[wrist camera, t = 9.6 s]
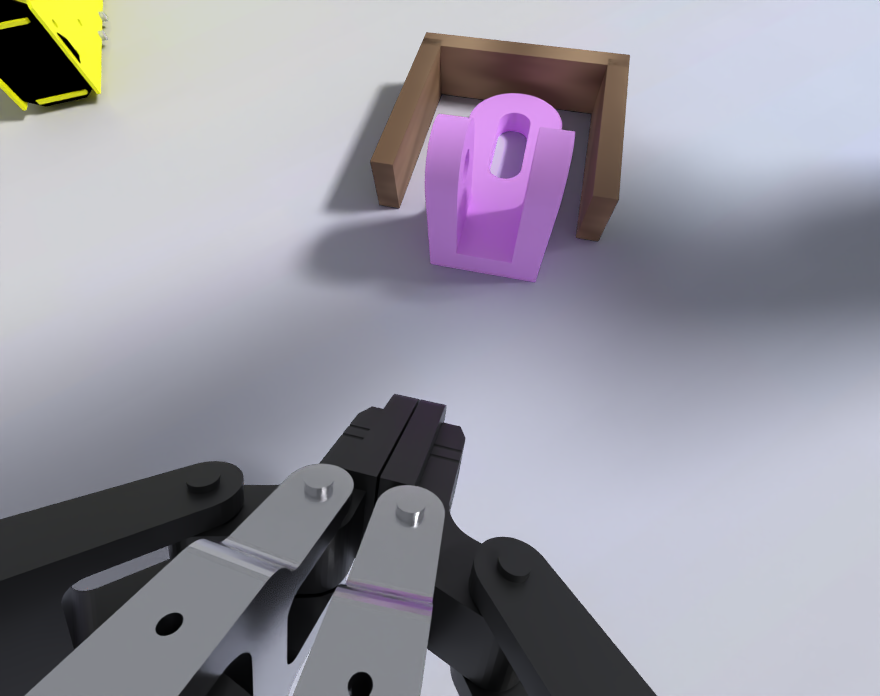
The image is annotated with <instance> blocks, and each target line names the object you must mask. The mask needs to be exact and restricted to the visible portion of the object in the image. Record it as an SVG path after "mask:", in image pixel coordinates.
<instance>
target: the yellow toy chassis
mask: <svg viewBox="0 0 880 696" xmlns="http://www.w3.org/2000/svg"><path fill="white" fill-rule="evenodd" d="M102 9H103V0H0V88H1V89H2V90H3V91H4V92H5V93H6V94H7V95H8V96H9V97H10V98H11V99H12V100H13V101H14V102H15V103H16V104H17V105H18V106H19V107H20V108H21V109H22V110H23V111H24V110H27V104H28V103H33V104H37V105H42V106H51V105H55V104H60V103H64V102H69V101H73V100H78V99H82V98H87V96H88V95H89V93H90V92H91V90H92V89H93V90H94V91H95V92H96V93H97V94H101V52H102V41H103V40H108V38H107V35H106V34H105V32H104V31H103V30H102V21H107V20H108V18H107V16H106V14H105V13H104V12H103V11H102Z"/></svg>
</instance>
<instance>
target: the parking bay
mask: <svg viewBox="0 0 880 696" xmlns="http://www.w3.org/2000/svg"><path fill="white" fill-rule="evenodd" d="M629 60H630V55H625V54H616V53H607V52H598V51H589V50H580V49H571V48H562V47H553V46H544V45H535V44H527V43H518V42H509V41H500V40H491V39H482V38H473V37H464V36H455V35H446V34H437V33H428V32H426V34H425V37H424V39H423V41H422V44H421V46H420V48H419V50H418V53H417V55H416V57H415V60H414V62H413V64H412V67H411V69H410V71H409V73H408V76H407V78H406V80H405V83H404V85H403V87H402V89H401V92H400V94H399V96H398V99H397V101H396V103H395V106H394V108H393V110H392V112H391V115H390V117H389V119H388V122H387V124H386V126H385V128H384V131H383V133H382V135H381V138H380V140H379V142H378V144H377V147H376V149H375V151H374V154H373V156H372V158H371V161H370V163H371V168H372V172H373V177H374V182H375V186H376V191H377V196H378V200H379V205H384V206H389V207H395V208H400V205H401V203H402V200H403V197H404V194H405V192H406V189H407V186H408V184H409V181H410V178H411V176H412V173H413V170H414V167H415V165H416V162H417V159H418V157H419V154H420V151H421V148H422V146H423V143H424V140H425V138H426V135H427V132H428V130H429V127H430V124H431V121H432V119H433V116H434V113H435V111H436V108H437V105H438V102H439V100H440V97H441V94H445V95H453V96H460V97H468V98H476V99H484V100H486V99H488V98H490V97H493V96H496V95H500V94H508V93H519V94H526V95H531V96H534V97H537V98H539V99H542V100H544V101H545V102H547V103H548V104H550V105H551V106H552V107H553V108H554V109H560V110H568V111H576V112H583V113H591V114H592V115H591V122H590V130H589V138H588V146H587V154H586V161H585V169H584V177H583V185H582V192H581V200H580V208H579V216H578V224H577V231H576V238H581V239H587V240H593V241H599V239H600V237H601V235H602V233H603V231H604V229H605V226H606V224H607V222H608V220H609V218H610V216H611V214H612V212H613V210H614V208H615V206H616V204H617V202H618V200H619V190H620V177H621V164H622V151H623V138H624V125H625V112H626V99H627V86H628V73H629Z"/></svg>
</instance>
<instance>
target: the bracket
mask: <svg viewBox="0 0 880 696" xmlns="http://www.w3.org/2000/svg"><path fill="white" fill-rule="evenodd" d="M508 131H516V132H519V133H521V134H523V135H524V136H525V137H526V139H527V144H526V149H525V154H524V159H523V164H522V168H521V171H520V173H519V174H518V175H517V176H515V177H512V178H508V179H503V178H499V177H496V176H494V175H493V174H492V173H491V172H490V167H491V163H492V159H493V155H494V151H495V147H496V143H497V139H498V137H499V136H500V135H501V134H502V133H504V132H508ZM574 141H575V132H574V131H567V130H562V121H561V118H560V116H559V114H558V112H557V111H556V110H555V109H554V108H553V107H552V106H551V105H550V104H548V103H547V102H545V101H544V100H542V99H539V98H537V97H534V96H531V95H526V94H519V93H508V94H500V95H496V96H493V97H490V98H488V99H486V100H484V101H482V102H481V103H479V104H478V105H477V106H476V107H475V108H474V109H473V111H472V112H471V114H470V117H469V118H467V117H460V116H452V115H445V114H438V115H437V117H436V119H435V121H434V124H433V127H432V131H431V135H430V139H429V144H428V151H427V158H426V168H425V197H426V210H427V223H428V236H429V250H430V263H431V264H434V265H440V266H445V267H451V268H457V269H462V270H468V271H474V272H479V273H485V274H491V275H496V276H502V277H508V278H513V279H519V280H525V281H530V282H535V281H536V278H537V275H538V272H539V269H540V266H541V263H542V260H543V257H544V254H545V250H546V247H547V244H548V241H549V238H550V235H551V232H552V229H553V226H554V223H555V220H556V217H557V214H558V210H559V207H560V204H561V200H562V197H563V193H564V189H565V185H566V181H567V177H568V172H569V168H570V163H571V158H572V153H573V148H574Z"/></svg>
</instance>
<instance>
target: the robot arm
mask: <svg viewBox="0 0 880 696" xmlns="http://www.w3.org/2000/svg"><path fill="white" fill-rule="evenodd" d="M445 414H446V405H443V404H439V403H434V402H430V401H425V400H419V399H416V398H411V397H407V396H402V395H398V394H394V395H393V396H392V397H391V399H390V400H389V402H388V403H387V405H386V406H385V408H384V409H381V408H376V407H370V408H368V409H367V410H365V411H363V412H361V413H359V414H358V415H357V416H356V417H355V419H354V420H353V421H352V422H351V424H350V426H348V428H347V429H346V430H345V431H344V433H343V435H341V436H340V438H339V439H338V440H337V442H336V443H335V444H334V445H333V447H332V448H331V449H330V451H329V452H328V453H327V454H326V456H325V457H324V458H323V459H322V461H321V462H320V463H319V464H313V465H308V466H305V467H302V468H300V469H298V470H296V471H295V472H293V473H292V474H291V475H290V476H289V477H288V478H287V479H286V480H285V481H284V482H283V483H282V484H281V485H244V481H243V474H242V471H241V470H240V469H239V468H238V467H237V466H235V465H233V464H230V463H227V462H219V461H211V462H203V463H198V464H194V465H191V466H187V467H184V468H180V469H177V470H173V471H170V472H166V473H162V474H159V475H155V476H152V477H148V478H145V479H141V480H138V481H134V482H131V483H127V484H124V485H120V486H117V487H113V488H110V489H106V490H103V491H99V492H96V493H92V494H88V495H85V496H81V497H78V498H74V499H71V500H67V501H64V502H60V503H57V504H53V505H50V506H46V507H43V508H39V509H36V510H32V511H29V512H25V513H21V514H18V515H14V516H11V517H7V518H4V519H0V696H288V695H289V692H290V689H291V686H292V684H293V681H294V679H295V677H296V675H297V673H298V671H299V669H300V668H301V666H302V664H303V662H304V661H305V659H306V657H307V655H308V653H309V652H310V654H309V656H308V659H307V661H306V664H305V666H304V669H303V671H302V674H301V676H300V679H299V681H298V684H297V686H296V689H295V691H294V694H293V696H420V694H421V687H422V680H423V673H424V666H425V659H426V652H427V649H428V650H430V651H431V652H432V653H434V654H435V655H436V656H438V657H439V658H440V659H442V660H443V661H444V662H446V663H447V664H449V665H450V671H451V676H452V680H453V682H454V685H455V687H456V689H457V692H458V694H459V696H657V695H656V694H655V693H654V692H653V690H652V689H651V688H650V687H649V686H648V684H647V683H646V682H645V681H644V679H643V678H642V677H641V676H640V675H639V673H638V672H637V671H636V670H635V668H634V667H633V666H632V665H631V664H630V662H629V661H628V660H627V659H626V658H625V656H624V655H623V654H622V653H621V651H620V650H619V649H618V648H617V647H616V645H615V644H614V643H613V642H612V640H611V639H610V638H609V637H608V636H607V634H606V633H605V632H604V631H603V629H602V628H601V627H600V626H599V625H598V623H597V622H596V621H595V620H594V618H593V617H592V616H591V615H590V614H589V612H588V611H587V610H586V609H585V607H584V606H583V605H582V604H581V603H580V601H579V600H578V599H577V598H576V596H575V595H574V594H573V593H572V592H571V590H570V589H569V588H568V587H567V585H566V584H565V583H564V582H563V581H562V579H561V578H560V577H559V576H558V574H557V573H556V572H555V571H554V570H553V568H552V567H551V566H550V565H549V564H548V562H547V561H546V560H545V559H544V557H543V556H542V555H541V554H540V553H539V552H538V551H537V550H535V549H534V548H533V547H531V546H530V545H528V544H527V543H525V542H523V541H520V540H517V539H514V538H510V537H495V538H491V539H489V540H487V541H485V542H484V543H482V544H481V543H479V542H478V541H476V540H474V539H472V538H471V537H469V536H468V535H466V534H465V533H464V532H463V531H461V530H460V529H459V528H458V527H457V525H456V524H455V523H454V521H453V519H452V517H451V515H450V509H451V505H452V501H453V497H454V493H455V489H456V484H457V479H458V474H459V469H460V464H461V459H462V454H463V448H464V443H465V436H464V434H463V432H462V429H461V427H460V426H456V425H451V424H447V423H444V420H445ZM166 546H168V547H169V555H170V559H169V560H166V561H164V562H161V563H159V564H156V565H154V566H151V567H149V568H146V569H144V570H141V571H139V572H136V573H134V574H131V575H129V576H127V577H124V578H122V579H119V580H117V581H114V582H112V583H109V584H107V585H104V586H102V587H99V588H96V589H93V590H89V591H78V590H75V589H73V588H72V587H71V586H72V585H73V584H75V583H76V582H78V581H79V580H81V579H83V578H85V577H88V576H90V575H93V574H95V573H98V572H101V571H103V570H106V569H108V568H111V567H114V566H116V565H119V564H121V563H124V562H127V561H129V560H132V559H135V558H137V557H140V556H142V555H145V554H148V553H150V552H153V551H155V550H158V549H161V548H163V547H166ZM354 559H355V561H354ZM353 561H354V563H353ZM352 563H353V566H352V569H351V571H350V574H349V577H348V579H347V581H346V575H347V574H348V572H349V569H350V567H351V565H352ZM310 650H311V651H310Z"/></svg>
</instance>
